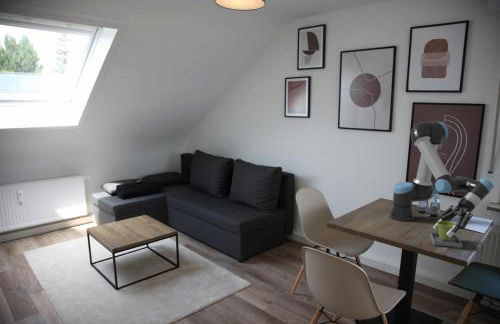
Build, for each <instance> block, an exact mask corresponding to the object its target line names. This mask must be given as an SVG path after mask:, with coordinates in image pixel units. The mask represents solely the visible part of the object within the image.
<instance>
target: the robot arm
mask: <svg viewBox="0 0 500 324" xmlns="http://www.w3.org/2000/svg"><path fill="white" fill-rule="evenodd" d="M448 135H449V128H448V126H447V125H446V123H444V122H443V121H420V122H418V123H416V124H414V125H413V127H412V128H411V131H410V137H411V138H410V139H411V142H412V143H413V146H415V147H417V148H418V150H419V152H420V158H419V162H418V168H417V173H416V178H414V179H413V180H412V182H409V181H403V182H398V183H396V184H394V186H393V197H392V198H393V199H392V206H391V209H390V211H389V214H388V215H389V218H390V219H393V220H395V221H401V222H412V221H414V220H415V215H414V214H415V213H414V211H413V203H417V202H426V201H430V200H431V199H433V197H434V196H435V190H436V191H437V193H440V194H441V193H442V194H446V193H447V194H448V193H457V192H467V193H466V194H465V195H464V196H463V197H462V198H461V199H460V200H459V201H458V203H457V205H456V206H454V205H452V204H451V205H450V206H449V208H447V209H446V210H444V211H443V212H441V213H440V214H439V215H438V216H437V217H438V218H439V219H438V221H447V220H449V219H451V218H454V217H456V216H457V217H458V218H457V221H456V223H455V225H456V226H455V225H454V226H453V227H452V228H451V229H450V230H449V231H448V233H447V234H446V235H447V236H448V237H451V236H452V235H455V233H457V232H458V231H459V230H465V228H466V227H467V225H468V224H469V222H470V220H471V218H473V216H474V214H473V213H472V212H473V211H474V210H475V209H476V207H478V206H479V204H480V203H481V202H483V200H484V198H486V197H487V195H489V194H490V193H491V192H492V190H493V189H494V187H495V186H494V184H493V182H492V181H490V180H489V179H487V178H485V177H483V178H480V179H479V180H474V179H471V178H469V177H466V176H462V175H457V176H456V177H454V178H452V177H451V175H450V173H449V171H448V169H447V168H446V166H445V165H444V163H443V161H442V160H441V157H440V156H439V154H438V148H439V147H440V146H441V145H442V143H443V141H444V140H446V139H447V138H448ZM432 175H433V177H434V179H435V183H434V185H433V182H432V181H431V179H432ZM438 221H437V222H438ZM437 222H436V223H435V225H434V226H433V227H432V228H433V230H434V231H435V232H436V231H439V226H438V224H437Z"/></svg>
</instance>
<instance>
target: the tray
mask: <svg viewBox="0 0 500 324" xmlns="http://www.w3.org/2000/svg"><path fill="white" fill-rule="evenodd" d="M429 238H430V240H431V242H432V244H433V246H434V247H441V248H450V249H451V248H452V249H459V250H462V249H463V243H462V241H461V240H460V239H459V237H458V235H457V234H453V238H452V240H451V241H446V240H442V239H440V238H439V232H438V233H437V232H430V233H429Z"/></svg>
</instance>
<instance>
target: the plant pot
mask: <svg viewBox="0 0 500 324" xmlns="http://www.w3.org/2000/svg"><path fill="white" fill-rule="evenodd" d="M436 223H437V224H438V226H439V229H438V233H439V238H440V239H442V240H446V241H451V240H452V238H453V235H454V234H453V235H452V236H451V237H448V236H447V235H446V234H447V233H448V231H449V230H450V229H451V228H452V227H453V226H454V225H455V224H456V223H454V222H452V221H447V220H445V221H437V222H436ZM455 226H456V225H455Z"/></svg>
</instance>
